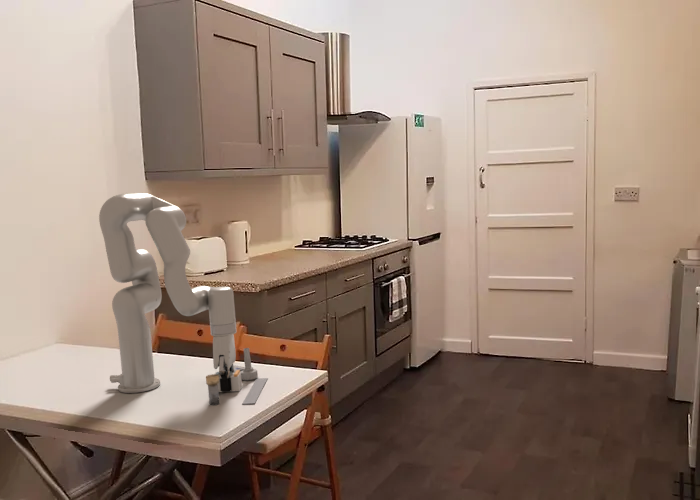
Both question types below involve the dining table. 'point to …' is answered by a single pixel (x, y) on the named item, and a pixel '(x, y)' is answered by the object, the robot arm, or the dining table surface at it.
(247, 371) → the electronic device
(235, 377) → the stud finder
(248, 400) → the strip
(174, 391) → the dining table surface
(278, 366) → the dining table surface
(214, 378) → the knob
